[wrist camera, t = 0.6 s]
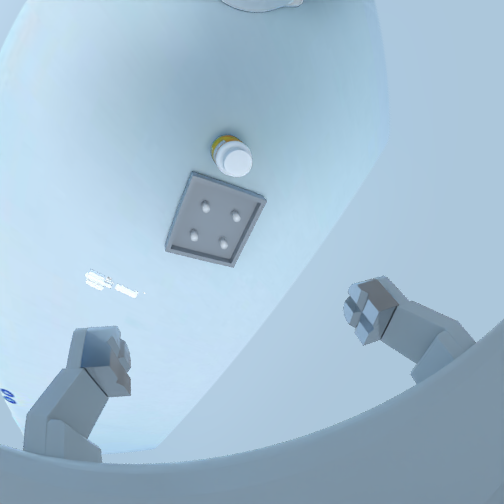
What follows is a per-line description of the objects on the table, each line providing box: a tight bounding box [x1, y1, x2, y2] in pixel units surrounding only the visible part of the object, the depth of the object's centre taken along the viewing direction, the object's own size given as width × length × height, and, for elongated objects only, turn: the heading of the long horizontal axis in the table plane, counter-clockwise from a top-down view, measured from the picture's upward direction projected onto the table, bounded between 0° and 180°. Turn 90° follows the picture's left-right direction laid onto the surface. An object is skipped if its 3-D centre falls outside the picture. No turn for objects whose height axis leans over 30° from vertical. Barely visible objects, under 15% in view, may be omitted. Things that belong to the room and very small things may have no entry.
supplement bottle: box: [211, 135, 252, 177], centre depth 40 cm, size 5×5×10 cm
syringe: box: [85, 269, 146, 298], centre depth 53 cm, size 20×5×2 cm, turn 54°
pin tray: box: [165, 171, 267, 268], centre depth 49 cm, size 15×14×4 cm
